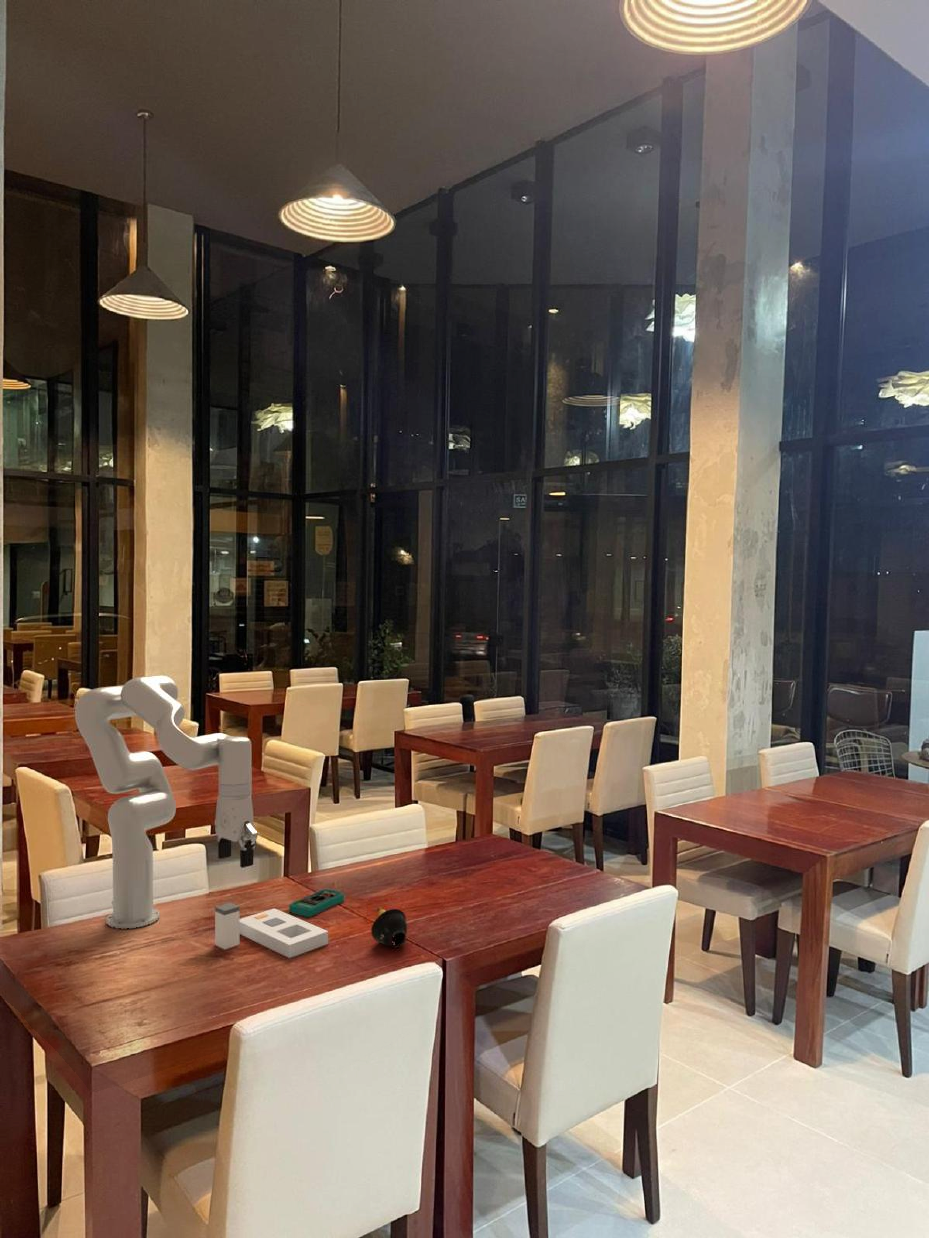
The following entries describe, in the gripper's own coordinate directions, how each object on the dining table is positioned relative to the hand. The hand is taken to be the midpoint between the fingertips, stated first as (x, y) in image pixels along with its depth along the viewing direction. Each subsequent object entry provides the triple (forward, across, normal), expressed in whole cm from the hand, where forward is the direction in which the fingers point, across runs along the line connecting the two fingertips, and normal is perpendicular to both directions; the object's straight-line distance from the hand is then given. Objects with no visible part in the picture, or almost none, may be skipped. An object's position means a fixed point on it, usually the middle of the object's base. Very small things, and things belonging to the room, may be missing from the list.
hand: (235, 861), depth 201 cm
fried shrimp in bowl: (+20, +23, +27) cm, 41 cm away
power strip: (+19, +5, +9) cm, 22 cm away
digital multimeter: (+20, -6, +28) cm, 35 cm away
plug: (+19, 0, -2) cm, 19 cm away
